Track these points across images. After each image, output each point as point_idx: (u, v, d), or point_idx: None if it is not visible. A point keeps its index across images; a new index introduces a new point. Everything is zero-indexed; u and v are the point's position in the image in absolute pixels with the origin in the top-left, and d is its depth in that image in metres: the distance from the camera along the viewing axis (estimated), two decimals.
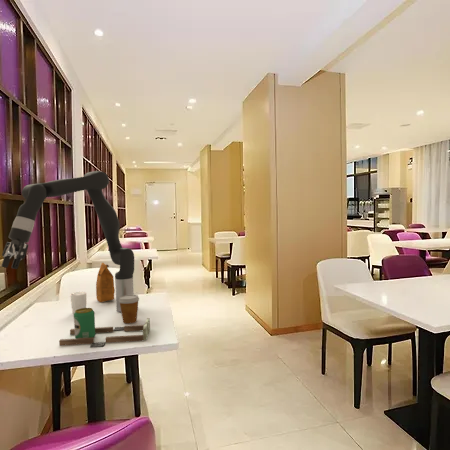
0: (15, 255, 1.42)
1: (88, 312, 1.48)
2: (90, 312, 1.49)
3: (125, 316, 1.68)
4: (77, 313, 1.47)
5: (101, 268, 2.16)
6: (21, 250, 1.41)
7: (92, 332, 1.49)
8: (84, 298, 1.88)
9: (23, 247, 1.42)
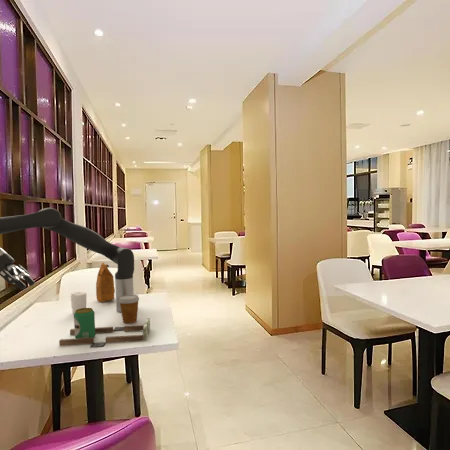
0: None
1: (88, 312, 1.48)
2: (90, 312, 1.49)
3: (125, 316, 1.68)
4: (77, 313, 1.47)
5: (101, 268, 2.16)
6: (5, 278, 1.40)
7: (92, 332, 1.49)
8: (84, 298, 1.88)
9: (3, 275, 1.40)
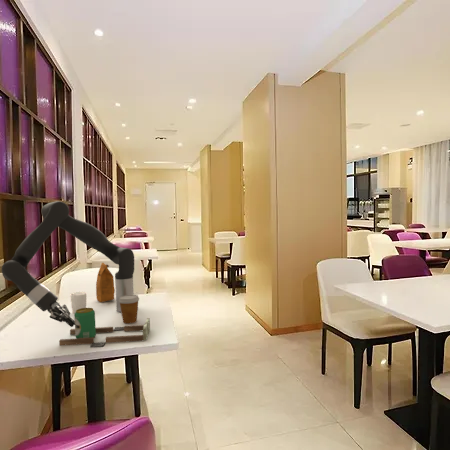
0: None
1: (89, 312, 1.48)
2: (91, 312, 1.49)
3: (125, 316, 1.68)
4: (78, 313, 1.47)
5: (101, 268, 2.16)
6: (56, 319, 1.45)
7: (92, 332, 1.49)
8: (84, 298, 1.88)
9: (54, 317, 1.44)
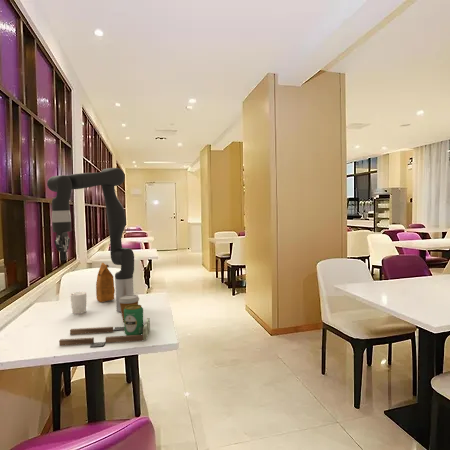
0: None
1: (141, 307, 1.53)
2: (141, 307, 1.54)
3: None
4: (132, 309, 1.50)
5: (101, 268, 2.16)
6: (57, 246, 1.54)
7: (143, 326, 1.55)
8: (84, 298, 1.88)
9: (57, 244, 1.53)
